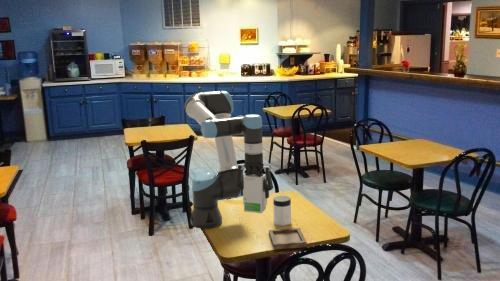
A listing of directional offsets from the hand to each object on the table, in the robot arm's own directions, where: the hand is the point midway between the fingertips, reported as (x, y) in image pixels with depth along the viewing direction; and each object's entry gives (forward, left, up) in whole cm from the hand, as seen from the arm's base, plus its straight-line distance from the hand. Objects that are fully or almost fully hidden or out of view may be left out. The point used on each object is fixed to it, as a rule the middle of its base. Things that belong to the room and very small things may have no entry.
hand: (255, 204), depth 197 cm
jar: (+3, +25, -18) cm, 30 cm away
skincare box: (0, 0, -3) cm, 3 cm away
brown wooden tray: (+12, +7, -18) cm, 22 cm away
